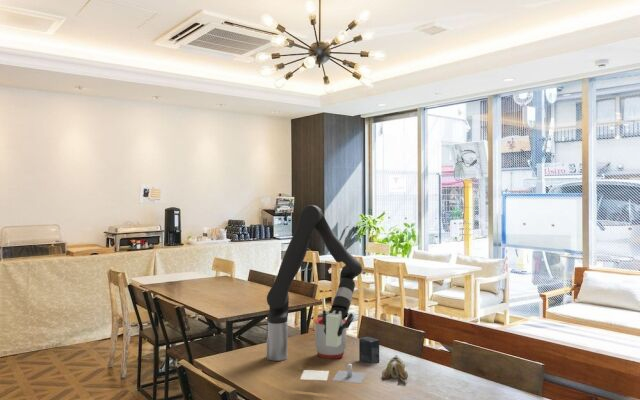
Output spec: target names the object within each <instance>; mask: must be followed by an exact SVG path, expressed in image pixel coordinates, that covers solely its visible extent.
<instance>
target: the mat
mask: <svg viewBox="0 0 640 400" xmlns="http://www.w3.org/2000/svg"><path fill="white" fill-rule="evenodd" d="M329 375H330V370H315V369H314V370H312V369H304V370H303V371H302V374H301V376H300V380H305V381H306V380H310V381H326V382H327V381H328V378H329Z"/></svg>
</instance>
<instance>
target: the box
mask: <svg viewBox="0 0 640 400" xmlns="http://www.w3.org/2000/svg"><path fill="white" fill-rule="evenodd" d="M358 342H359V343H358V344H359V345H358V346H359V348H358V349H359V352H358V353H359V354H358V355H359V357H358V358H359V362H362V363H370V364H379V363H380V339H377V338H374V337H370V336H364V337H359V341H358Z"/></svg>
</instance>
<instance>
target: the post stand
mask: <svg viewBox="0 0 640 400" xmlns="http://www.w3.org/2000/svg"><path fill="white" fill-rule="evenodd" d="M346 369H347V370H338V371H337V373H336V374H335V375H334V377H332V381H335V382H344V383H345V382H346V383H353V384H362V382H363V381H364V379H365V377H366V375H367V372H359V371H358V372H357V371H353V363H347V364H346Z"/></svg>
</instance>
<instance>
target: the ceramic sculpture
mask: <svg viewBox="0 0 640 400" xmlns="http://www.w3.org/2000/svg"><path fill="white" fill-rule="evenodd" d="M405 368H406V365H405V363H404V361H403V360H402V359H401V358H400V357H399V356H398V355H397V354H396V355H394V356H393V357H391V358H390V359H389V361H388V363H387V365H386V368H384V369H383V370H382V372H381V378H382V379H383V380H387V379H390V378H394V379H400V380H402V381H407V379H408V378H409V377H408V376H409V374H408V371H407V370H405Z"/></svg>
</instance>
